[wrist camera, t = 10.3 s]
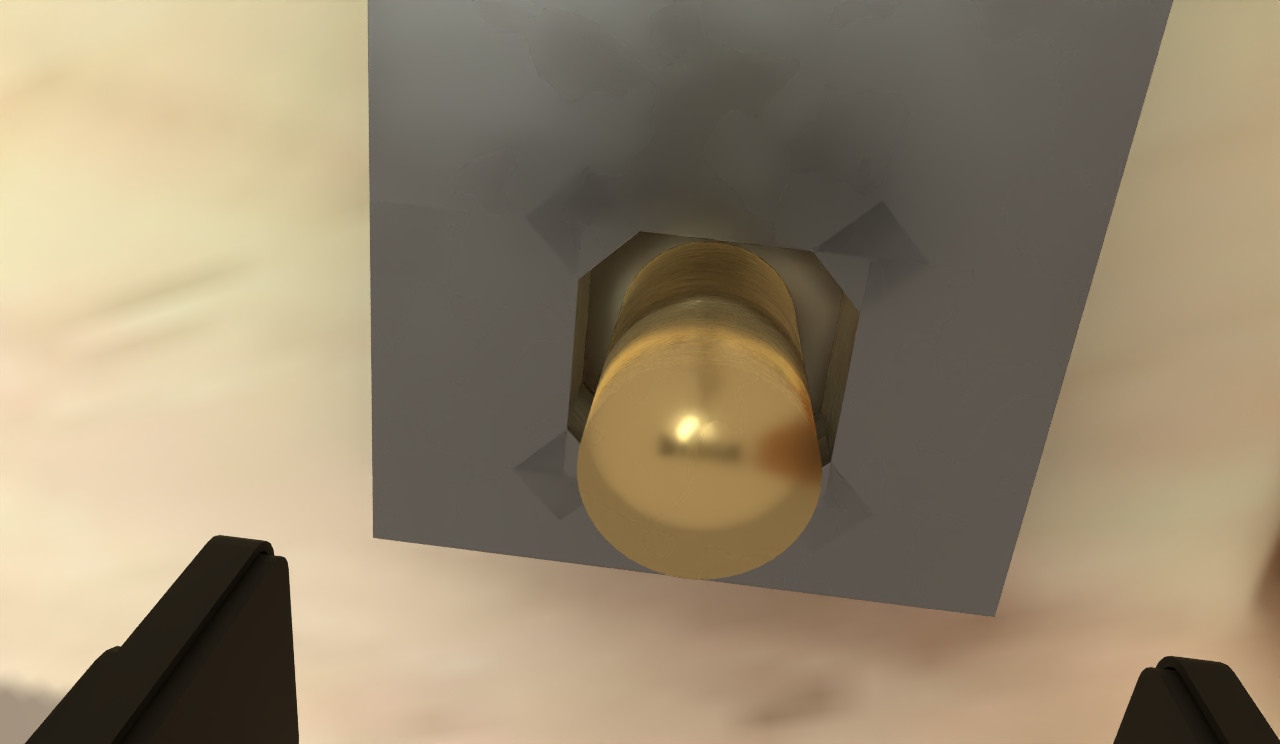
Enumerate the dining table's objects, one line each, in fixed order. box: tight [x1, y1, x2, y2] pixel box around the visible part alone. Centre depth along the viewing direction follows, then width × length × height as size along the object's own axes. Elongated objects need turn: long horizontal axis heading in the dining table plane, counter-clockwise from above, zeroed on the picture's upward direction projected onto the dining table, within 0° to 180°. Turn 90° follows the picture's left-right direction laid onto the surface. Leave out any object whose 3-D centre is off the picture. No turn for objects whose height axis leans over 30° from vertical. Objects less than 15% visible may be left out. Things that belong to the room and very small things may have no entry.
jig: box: [368, 0, 1173, 617], centre depth 20 cm, size 20×14×2 cm
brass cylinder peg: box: [577, 242, 822, 579], centre depth 20 cm, size 4×4×7 cm
